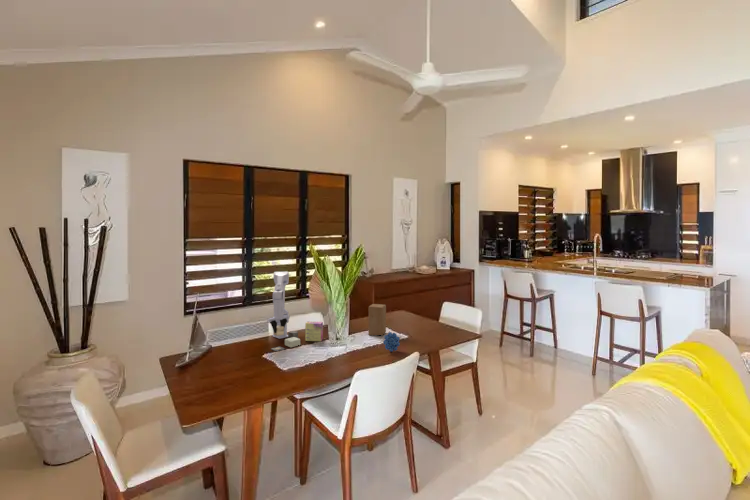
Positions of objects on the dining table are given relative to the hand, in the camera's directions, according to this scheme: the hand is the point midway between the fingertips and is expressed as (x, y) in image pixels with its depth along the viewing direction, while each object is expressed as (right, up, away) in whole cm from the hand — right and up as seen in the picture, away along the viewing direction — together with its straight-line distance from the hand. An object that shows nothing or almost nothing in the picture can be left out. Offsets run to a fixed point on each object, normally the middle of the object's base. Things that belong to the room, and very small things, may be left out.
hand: (278, 331), depth 234 cm
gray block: (+6, -8, +14) cm, 17 cm away
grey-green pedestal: (+8, -9, +2) cm, 12 cm away
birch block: (0, -2, 0) cm, 2 cm away
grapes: (+71, -10, -11) cm, 72 cm away
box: (+20, -9, +13) cm, 25 cm away
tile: (+1, -9, -6) cm, 11 cm away
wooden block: (+62, -8, +28) cm, 68 cm away
